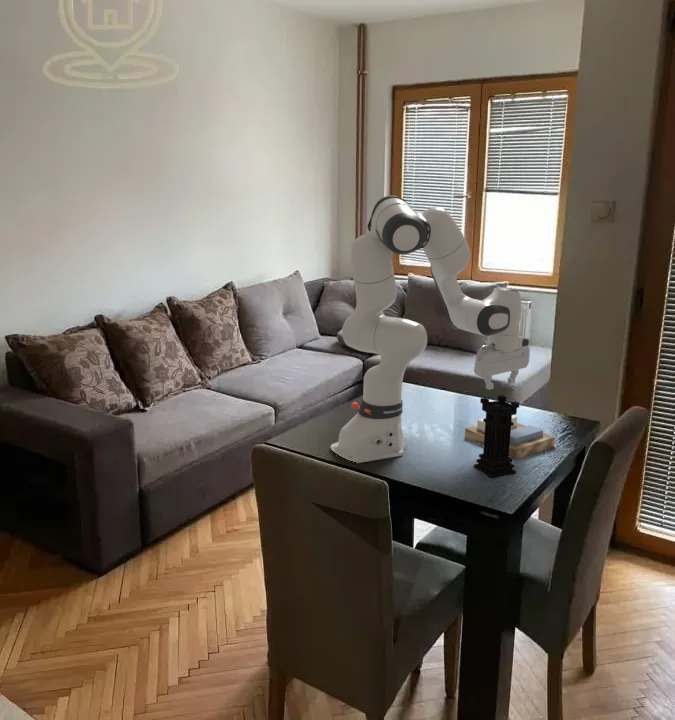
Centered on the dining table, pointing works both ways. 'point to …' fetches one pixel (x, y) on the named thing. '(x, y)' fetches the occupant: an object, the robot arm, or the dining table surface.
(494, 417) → the chess piece
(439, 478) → the dining table surface
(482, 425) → the ivory key
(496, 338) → the robot arm
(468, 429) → the key console
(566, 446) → the dining table surface
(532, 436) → the blue-grey rectangular block
